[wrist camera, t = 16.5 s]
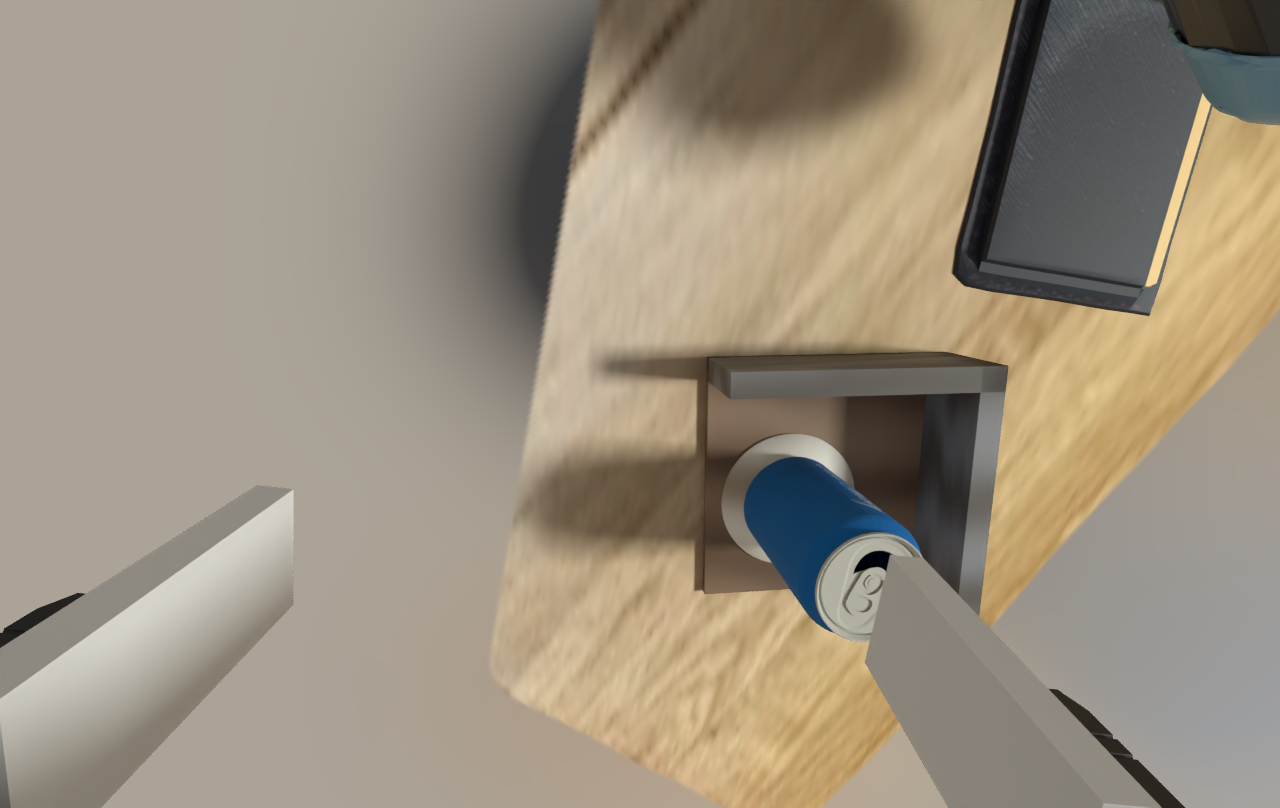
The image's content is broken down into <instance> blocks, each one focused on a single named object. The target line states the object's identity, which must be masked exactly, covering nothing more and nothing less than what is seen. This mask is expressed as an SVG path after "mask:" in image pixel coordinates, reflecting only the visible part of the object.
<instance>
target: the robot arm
mask: <svg viewBox="0 0 1280 808" xmlns="http://www.w3.org/2000/svg"><path fill="white" fill-rule="evenodd" d="M1161 1H1162V3H1163V6H1164V8H1165V11H1166V14H1167V16H1168V19H1169V23H1168V26H1167V31H1168V34H1169V37H1170V40H1171V41H1172V43H1173V44H1174V46H1175V47H1176V48H1178V49H1179V50H1180V51H1182V52H1183V53H1184V54H1185V56H1186V58H1187V60H1188V62H1189V64H1190V67H1191V69H1192V71H1193V73H1194V75H1195V77H1196V79H1197V82H1198V84H1199V86H1200V88H1201V90H1202V92H1203V94H1204V96H1205V98H1206V99H1207V100H1208V101H1209V103H1210V104H1211V105H1212V106H1213V107H1214V108H1215V109H1217V110H1218V111H1220V112H1223V113H1225V114H1228V115H1232V116H1235V117H1237V118H1239V119H1240V120H1242V121H1246V122H1250V123H1256V124H1266V125H1280V0H1161ZM292 605H293V489H286V488H277V487H267V486H259V485H257V486H255V487H254V488H252V489H251V490H249V491H247V492H246V493H244V494H243V495H241V496H239V497H238V498H236V499H235V500H233V501H231V502H230V503H228V504H227V505H225V506H224V507H222V508H221V509H219V510H217V511H216V512H214V513H213V514H211V515H209V516H208V517H206V518H205V519H203V520H202V521H200V522H198V523H197V524H195V525H194V526H192V527H190V528H189V529H187V530H186V531H184V532H183V533H181V534H179V535H178V536H176V537H175V538H173V539H172V540H170V541H169V542H167V543H165V544H164V545H162V546H161V547H159V548H157V549H156V550H154V551H153V552H151V553H149V554H148V555H146V556H145V557H143V558H142V559H140V560H138V561H137V562H135V563H134V564H132V565H131V566H129V567H127V568H126V569H124V570H123V571H121V572H120V573H118V574H116V575H115V576H113V577H112V578H110V579H108V580H107V581H105V582H104V583H102V584H101V585H99V586H97V587H96V588H94V589H93V590H91V591H89V592H88V593H86V594H83V593H77V594H74V595H72V596H69V597H66V598H64V599H61V600H58V601H56V602H54V603H51V604H48V605H45V606H43V607H40V608H38V609H36V610H34V611H32V612H31V613H29V614H27V615H26V616H24V617H23V618H21V619H19V620H18V621H16V622H14V623H13V624H11V625H9V626H8V627H6V628H4V631H3V633H0V808H101V807H102V806H103V805H104V804H105V803H106V802H107V801H108V800H109V798H111V796H112V795H113V794H114V793H115V792H116V791H117V790H118V789H119V788H120V787H121V786H122V785H123V784H124V783H125V782H126V781H127V780H128V778H130V776H131V775H132V774H133V773H134V772H135V771H136V770H137V769H138V768H139V767H140V766H141V765H142V764H143V763H144V762H145V761H146V759H147V758H148V757H149V756H150V755H151V754H152V753H153V752H154V751H155V750H156V749H157V748H158V747H159V746H160V745H161V743H162V742H164V740H165V739H166V738H167V737H168V736H169V735H170V734H171V733H172V732H173V731H174V730H175V729H176V728H177V727H178V725H180V724H181V722H182V721H183V720H184V719H185V718H186V717H187V716H188V715H189V714H190V713H191V712H192V711H193V710H194V709H195V708H196V707H197V706H198V705H199V704H200V702H201V701H202V700H203V699H204V698H205V697H206V696H207V695H208V694H209V693H210V692H211V691H212V690H213V689H214V688H215V687H216V685H217V684H218V683H219V682H220V681H221V680H222V679H223V678H224V677H225V676H226V675H227V674H228V673H229V672H230V671H231V670H232V668H234V666H235V665H236V664H237V663H238V662H239V661H240V660H241V659H242V658H243V657H244V656H245V655H246V654H247V652H249V651H250V650H251V649H252V647H253V646H254V645H255V644H256V643H257V642H258V641H259V640H260V639H261V638H262V637H263V636H264V635H265V634H266V633H267V631H268V630H269V629H270V628H271V627H272V626H273V625H274V624H275V623H276V622H277V621H278V620H279V619H280V618H281V617H282V616H283V615H284V614H285V613H286V611H287V610H288V609H289V608H290V607H291V606H292ZM865 663H866V665H867V667H868V669H869V670H870V672H871V674H872V675H873V677H874V679H875V681H876V682H877V684H878V686H879V688H880V689H881V691H882V693H883V695H884V696H885V698H886V700H887V702H888V703H889V705H890V707H891V709H892V710H893V712H894V714H895V716H896V717H897V719H898V721H899V723H900V724H901V726H902V728H903V730H904V731H905V733H906V735H907V736H908V738H909V740H910V742H911V744H912V745H913V747H914V749H915V751H916V752H917V754H918V756H919V758H920V759H921V761H922V763H923V765H924V766H925V768H926V770H927V771H928V773H929V775H930V777H931V778H932V780H933V782H934V784H935V785H936V787H937V789H938V791H939V792H940V794H941V796H942V797H943V799H944V801H945V803H946V805H947V806H948V808H1185V807H1184V806H1183V805H1182V804H1181V803H1180V802H1179V801H1178V800H1177V799H1176V798H1175V797H1174V796H1173V795H1172V794H1171V793H1170V792H1169V791H1168V790H1167V789H1166V788H1165V787H1164V786H1163V785H1162V784H1161V783H1160V782H1159V781H1158V780H1157V779H1156V778H1155V777H1154V776H1153V775H1152V774H1151V773H1150V772H1149V771H1148V770H1147V769H1146V768H1145V767H1144V766H1143V765H1142V764H1141V763H1140V762H1139V761H1138V760H1134V759H1133V757H1132V754H1131V753H1130V752H1129V751H1128V750H1127V749H1126V748H1125V747H1124V746H1123V745H1122V744H1121V743H1120V742H1119V741H1118V740H1116V739H1113V737H1112V736H1113V735H1112V734H1111V733H1110V732H1109V731H1108V730H1107V729H1106V728H1105V727H1104V726H1103V725H1102V724H1101V723H1100V722H1099V721H1098V720H1097V719H1096V718H1095V717H1094V716H1093V715H1092V714H1091V713H1090V712H1089V711H1088V710H1086V709H1085V708H1084V707H1082V706H1081V705H1079V704H1078V703H1076V702H1075V701H1073V700H1072V699H1070V698H1069V697H1067V696H1066V695H1064V694H1063V693H1062V692H1060V691H1059V690H1055V689H1048V688H1047V687H1046V686H1045V685H1044V684H1043V683H1042V682H1041V681H1040V680H1039V679H1038V678H1037V677H1036V675H1035V674H1033V672H1032V671H1031V670H1030V669H1029V668H1028V667H1027V666H1026V665H1025V664H1024V663H1023V662H1022V661H1021V660H1020V659H1019V658H1018V657H1017V656H1016V655H1015V653H1013V652H1012V650H1011V649H1010V648H1009V647H1008V646H1007V645H1006V644H1005V643H1004V642H1003V641H1002V640H1001V639H1000V638H999V637H998V636H997V635H996V634H995V633H994V632H993V630H992V629H991V628H990V627H989V626H988V625H987V624H986V623H985V622H984V621H983V620H982V619H981V618H980V617H979V616H978V615H977V614H976V613H975V612H974V611H973V610H972V609H971V607H970V606H969V605H968V604H967V603H966V602H965V601H964V600H963V599H962V598H961V597H960V596H959V595H958V594H957V593H956V592H955V591H954V590H953V589H952V588H951V587H950V585H949V584H948V583H947V582H946V581H945V580H944V579H943V578H942V577H941V576H940V575H939V574H938V573H937V572H936V571H935V570H934V569H933V568H932V567H931V566H930V565H929V564H928V562H927V561H926V560H925V559H924V558H916V557H907V556H898V555H890V558H889V562H888V566H887V571H886V575H885V579H884V583H883V588H882V592H881V596H880V600H879V605H878V609H877V613H876V617H875V622H874V626H873V630H872V634H871V639H870V643H869V647H868V651H867V656H866V660H865Z"/></svg>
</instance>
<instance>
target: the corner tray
mask: <svg viewBox="0 0 1280 808" xmlns="http://www.w3.org/2000/svg"><path fill="white" fill-rule="evenodd" d="M1007 373H1008V366H1007V365H1002V364H998V363H993V362H989V361H984V360H980V359H975V358H971V357H967V356H962V355H958V354H953V353H949V352H929V353H879V354H829V355H779V356H729V357H707V397H706V453H705V509H704V565H703V592H704V594H715V593H731V592H748V591H764V590H781V589H790V588H789V587H788V585H787V584H786V582H785V581H784V580H783V578H782V577H781V575H780V574H779V572H778V571H777V569H776V568H775V567H774V565H773V564H772V562H771V561H770V559H769V558H768V557H767V555H766V554H765V552H764V551H763V549H762V548H761V547H760V545H759V544H758V542H757V541H756V539H755V538H754V536H753V535H752V534H751V532H750V530H749V529H748V527H747V524H746V521H745V517H744V500H745V495H746V492H747V490H748V487H749V485H750V484H751V482H752V480H753V479H754V478H755V476H756V475H757V474H758V473H759V472H760V471H761V470H762V469H764V468H765V467H766V466H768V465H769V464H771V463H773V462H775V461H777V460H780V459H783V458H788V457H805V458H810V459H813V460H815V461H817V462H819V463H821V464H823V465H824V466H825V467H826V468H828V469H829V470H830V471H832V472H833V473H834V474H836V475H837V476H838V477H839V478H841V479H842V480H843V481H845V482H846V483H847V484H849V485H850V486H851V487H853V488H854V489H855V490H856V491H858V492H859V493H860V494H862V495H863V496H864V497H866V498H867V499H868V500H869V501H871V502H872V503H873V504H875V505H876V506H877V507H879V508H880V509H881V510H882V511H884V512H885V513H886V514H888V515H889V516H890V517H892V518H893V519H894V520H896V521H897V522H898V523H899V524H901V525H902V526H903V527H905V528H906V529H907V530H908V531H909V532H910V533H911V535H912V536H913V538H914V539H915V541H916V542H917V544H918V546H919V549H920V552H921V555H922V557H923V558H924V559H925V560H926V561H927V562H928V564H929V565H930V566H931V567H932V568H933V569H934V570H935V571H936V572H937V573H938V574H939V575H940V576H941V577H942V578H943V579H944V580H945V581H946V582H947V583H948V584H949V585H950V587H951V588H952V589H953V590H954V591H955V592H956V593H957V594H958V595H959V596H960V597H961V598H962V599H963V600H964V601H965V602H966V603H967V604H968V605H969V606H970V607H971V609H972V610H973V611H974V612H975V613H976V614H977V615H978V616H979V613H980V604H981V595H982V587H983V578H984V570H985V561H986V553H987V544H988V536H989V527H990V519H991V510H992V502H993V493H994V484H995V476H996V467H997V459H998V450H999V442H1000V433H1001V425H1002V416H1003V408H1004V399H1005V391H1006V382H1007Z"/></svg>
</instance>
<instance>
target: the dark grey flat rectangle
mask: <svg viewBox="0 0 1280 808" xmlns="http://www.w3.org/2000/svg"><path fill="white" fill-rule="evenodd" d="M1168 23H1169V19H1168V16H1167V14H1166V11H1165V8H1164V6H1163V3H1162V1H1161V0H1017V3H1016V7H1015V12H1014V16H1013V20H1012V24H1011V29H1010V33H1009V38H1008V42H1007V46H1006V51H1005V55H1004V60H1003V64H1002V68H1001V73H1000V77H999V82H998V86H997V91H996V95H995V99H994V104H993V108H992V113H991V117H990V122H989V126H988V130H987V133H986V137H985V141H984V145H983V149H982V153H981V157H980V161H979V165H978V169H977V173H976V177H975V181H974V185H973V189H972V192H971V196H970V200H969V204H968V208H967V212H966V216H965V219H964V223H963V227H962V231H961V234H960V238H959V242H958V245H957V251H956V258H955V265H954V272H953V274H954V275H955V276H956V277H957V278H958V279H959V280H960V281H961V282H962V283H963V284H964V285H965V286H968V287H973V288H977V289H982V290H986V291H991V292H999V293H1006V294H1013V295H1020V296H1027V297H1034V298H1041V299H1048V300H1055V301H1060V302H1066V303H1072V304H1077V305H1083V306H1089V307H1094V308H1100V309H1106V310H1113V311H1121V312H1128V313H1134V314H1140V315H1146V316H1149V315H1150V312H1151V309H1152V306H1153V304H1154V301H1155V298H1156V295H1157V292H1158V289H1159V286H1160V283H1161V280H1162V276H1163V272H1164V268H1165V265H1166V261H1167V257H1168V253H1169V250H1170V246H1171V243H1172V239H1173V236H1174V233H1175V229H1176V226H1177V223H1178V219H1179V216H1180V213H1181V209H1182V206H1183V203H1184V199H1185V196H1186V193H1187V189H1188V186H1189V183H1190V179H1191V176H1192V173H1193V169H1194V166H1195V163H1196V159H1197V156H1198V153H1199V149H1200V146H1201V143H1202V139H1203V136H1204V133H1205V129H1206V126H1207V123H1208V119H1209V116H1210V113H1211V110H1212V105H1211V104H1210V103H1209V101H1208V100H1207V99H1206V98H1205V96H1204V94H1203V92H1202V90H1201V88H1200V86H1199V84H1198V82H1197V79H1196V77H1195V75H1194V73H1193V71H1192V69H1191V67H1190V64H1189V62H1188V60H1187V58H1186V56H1185V54H1184V53H1183V52H1182V51H1180V50H1179V49H1178V48H1176V47H1175V46H1174V44H1173V43H1172V41H1171V40H1170V37H1169V34H1168V31H1167V26H1168Z"/></svg>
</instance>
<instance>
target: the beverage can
mask: <svg viewBox="0 0 1280 808" xmlns="http://www.w3.org/2000/svg"><path fill="white" fill-rule="evenodd" d="M744 517H745V521H746V524H747V527H748V529H749V530H750V532H751V534H752V535H753V536H754V538H755V539H756V541H757V542H758V544H759V545H760V547H761V548H762V549H763V551H764V552H765V554H766V555H767V557H768V558H769V559H770V561H771V562H772V564H773V565H774V567H775V568H776V569H777V571H778V572H779V574H780V575H781V577H782V578H783V580H784V581H785V582H786V584H787V585H788V587H789V588H790V590H791V591H792V592H793V594H794V595H795V597H796V598H797V600H798V601H799V602H800V604H801V605H802V607H803V608H804V610H805V611H806V612H807V614H808V615H809V616H810V618H811V619H813V620H814V621H815V622H816V623H817V624H818V625H820V626H821V627H823V628H824V629H826V630H828V631H831V632H833V633H836V634H837V635H839V636H841V637H843V638H845V639H848V640H851V641H857V642H870V639H871V634H872V630H873V626H874V622H875V617H876V613H877V609H878V605H879V600H880V596H881V592H882V588H883V583H884V579H885V575H886V571H887V566H888V562H889V558H890V555H898V556H907V557H916V558H923V557H922V555H921V552H920V549H919V546H918V544H917V542H916V541H915V539H914V538H913V536H912V535H911V533H910V532H909V531H908V530H907V529H906V528H905V527H903V526H902V525H901V524H899V523H898V522H897V521H896V520H894V519H893V518H892V517H890V516H889V515H888V514H886V513H885V512H884V511H882V510H881V509H880V508H879V507H877V506H876V505H875V504H873V503H872V502H871V501H869V500H868V499H867V498H866V497H864V496H863V495H862V494H860V493H859V492H858V491H856V490H855V489H854V488H853V487H851V486H850V485H849V484H847V483H846V482H845V481H843V480H842V479H841V478H839V477H838V476H837V475H836V474H834V473H833V472H832V471H830V470H829V469H828V468H826V467H825V466H824V465H823V464H821V463H819V462H817V461H815V460H813V459H810V458H805V457H788V458H783V459H780V460H777V461H775V462H773V463H771V464H769V465H768V466H766V467H765V468H764V469H762V470H761V471H760V472H759V473H758V474H757V475H756V476H755V478H754V479H753V480H752V482H751V484H750V485H749V487H748V490H747V492H746V495H745V500H744Z"/></svg>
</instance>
